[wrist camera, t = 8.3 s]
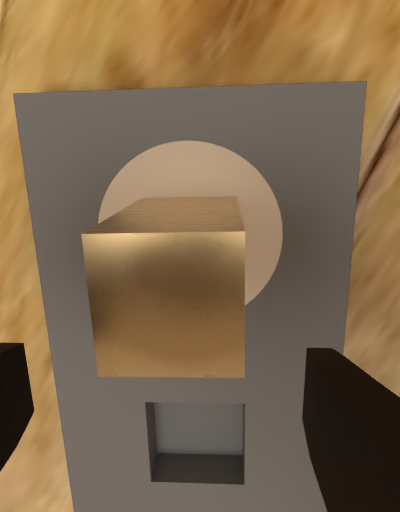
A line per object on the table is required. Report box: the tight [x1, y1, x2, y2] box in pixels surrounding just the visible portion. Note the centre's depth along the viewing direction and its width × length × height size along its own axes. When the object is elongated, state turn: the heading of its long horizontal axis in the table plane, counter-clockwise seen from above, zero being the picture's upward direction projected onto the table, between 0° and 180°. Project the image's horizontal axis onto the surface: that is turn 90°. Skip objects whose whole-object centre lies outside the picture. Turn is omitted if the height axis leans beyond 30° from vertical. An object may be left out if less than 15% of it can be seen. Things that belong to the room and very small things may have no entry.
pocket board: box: [13, 81, 367, 512], centre depth 19 cm, size 14×24×3 cm, turn 1°
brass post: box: [81, 196, 245, 378], centre depth 13 cm, size 4×4×7 cm
